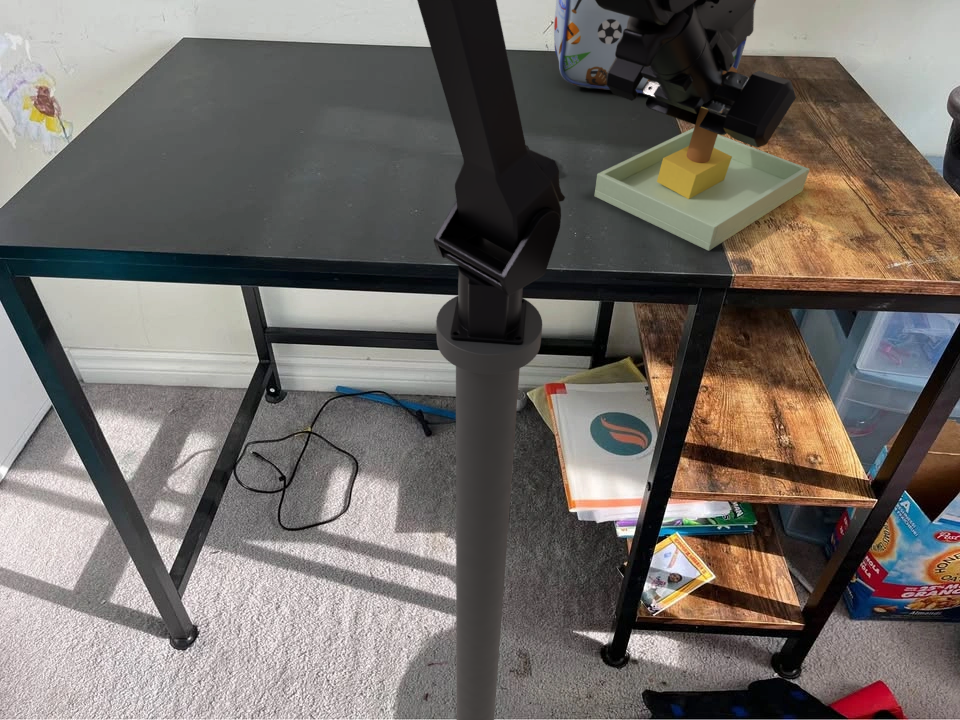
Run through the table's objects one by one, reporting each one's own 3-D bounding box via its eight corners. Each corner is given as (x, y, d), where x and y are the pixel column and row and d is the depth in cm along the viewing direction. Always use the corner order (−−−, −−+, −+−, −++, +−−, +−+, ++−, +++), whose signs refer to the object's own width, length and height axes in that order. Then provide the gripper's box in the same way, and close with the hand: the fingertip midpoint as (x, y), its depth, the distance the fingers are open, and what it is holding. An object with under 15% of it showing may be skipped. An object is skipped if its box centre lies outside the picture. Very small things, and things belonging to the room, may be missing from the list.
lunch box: (728, 75, 114) (768, -91, 100) (745, 101, 106) (790, -74, 92) (548, 70, 114) (561, -97, 100) (552, 96, 106) (566, -81, 92)
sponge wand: (688, 199, 83) (724, 85, 74) (656, 181, 85) (687, 69, 76) (724, 180, 86) (762, 69, 77) (692, 163, 89) (725, 54, 80)
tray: (708, 251, 76) (714, 227, 74) (594, 196, 84) (597, 173, 83) (802, 191, 86) (810, 168, 85) (692, 147, 95) (696, 126, 93)
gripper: (818, -10, 63) (836, 86, 76) (640, -52, 73) (682, 39, 86) (746, 106, 64) (775, 181, 77) (579, 49, 74) (630, 124, 87)
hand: (714, 126), depth 82 cm, fingers closed on sponge wand, 2 cm apart
